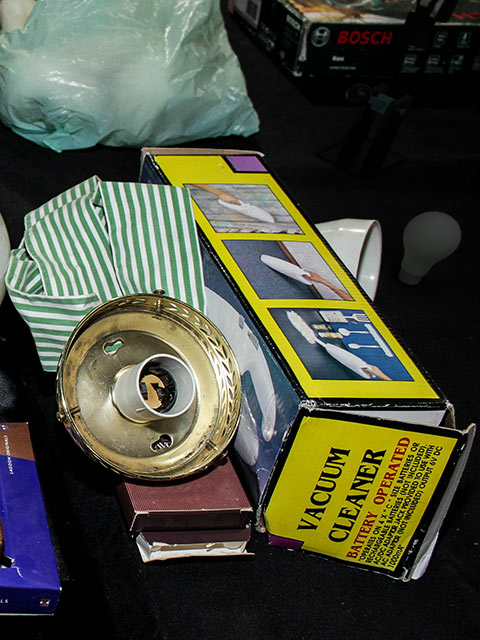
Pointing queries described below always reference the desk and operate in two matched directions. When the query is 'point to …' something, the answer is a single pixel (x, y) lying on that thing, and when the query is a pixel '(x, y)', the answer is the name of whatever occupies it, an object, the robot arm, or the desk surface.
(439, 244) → the lightbulb
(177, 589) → the desk surface
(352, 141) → the switch bracket
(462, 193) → the desk surface
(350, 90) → the switch lever
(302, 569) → the desk surface
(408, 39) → the robot arm
